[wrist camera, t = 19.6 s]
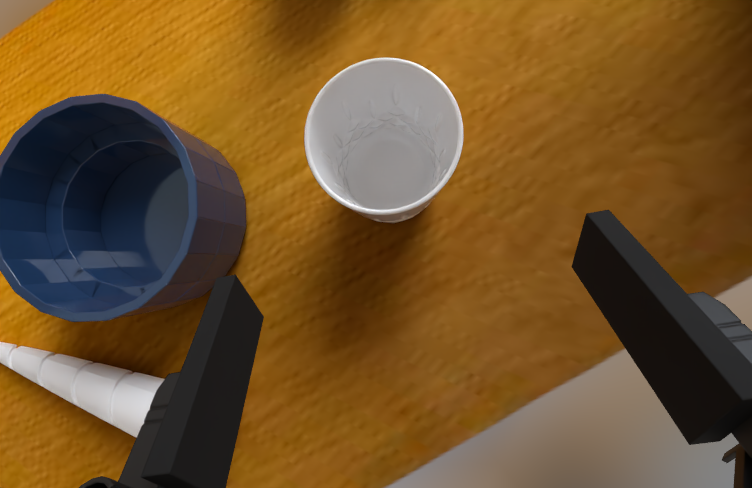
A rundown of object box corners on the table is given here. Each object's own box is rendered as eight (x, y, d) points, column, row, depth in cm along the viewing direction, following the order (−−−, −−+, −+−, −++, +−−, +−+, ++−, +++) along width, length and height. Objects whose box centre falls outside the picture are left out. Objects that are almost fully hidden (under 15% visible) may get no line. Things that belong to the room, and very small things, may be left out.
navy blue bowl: (282, 192, 28) (240, 169, 21) (186, 340, 28) (114, 367, 21) (145, 102, 29) (63, 54, 22) (54, 245, 29) (-54, 240, 23)
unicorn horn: (-6, 296, 30) (-86, 303, 25) (251, 390, 27) (218, 418, 23) (-24, 349, 30) (-107, 367, 25) (232, 448, 27) (196, 488, 23)
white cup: (461, 199, 27) (494, 163, 17) (371, 249, 27) (350, 243, 17) (410, 112, 27) (413, 27, 17) (323, 162, 28) (276, 108, 18)
